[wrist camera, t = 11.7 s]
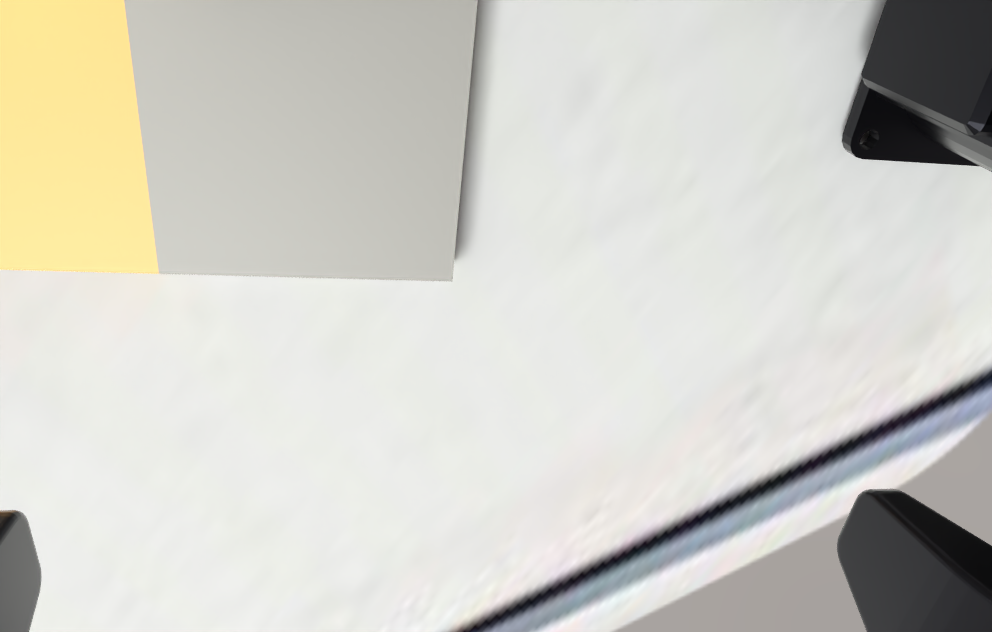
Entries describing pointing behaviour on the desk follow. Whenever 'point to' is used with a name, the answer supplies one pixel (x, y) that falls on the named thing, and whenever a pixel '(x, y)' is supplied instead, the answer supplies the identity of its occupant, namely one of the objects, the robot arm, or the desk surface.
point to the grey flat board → (234, 136)
